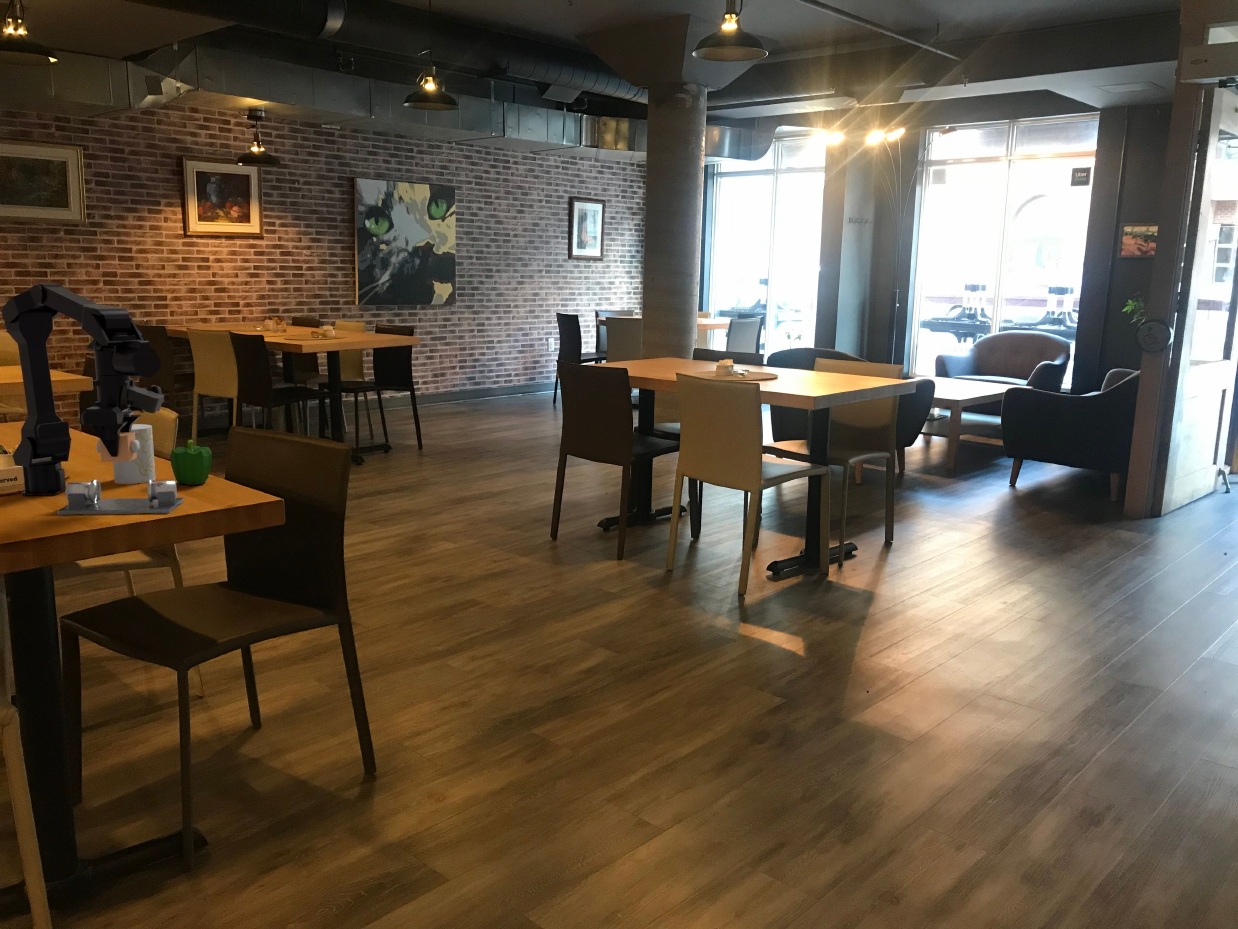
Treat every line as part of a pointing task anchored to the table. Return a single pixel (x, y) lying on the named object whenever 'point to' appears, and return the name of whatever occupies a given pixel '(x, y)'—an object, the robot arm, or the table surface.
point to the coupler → (121, 448)
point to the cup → (138, 459)
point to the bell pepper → (191, 464)
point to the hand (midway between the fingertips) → (118, 454)
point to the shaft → (162, 492)
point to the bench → (107, 502)
